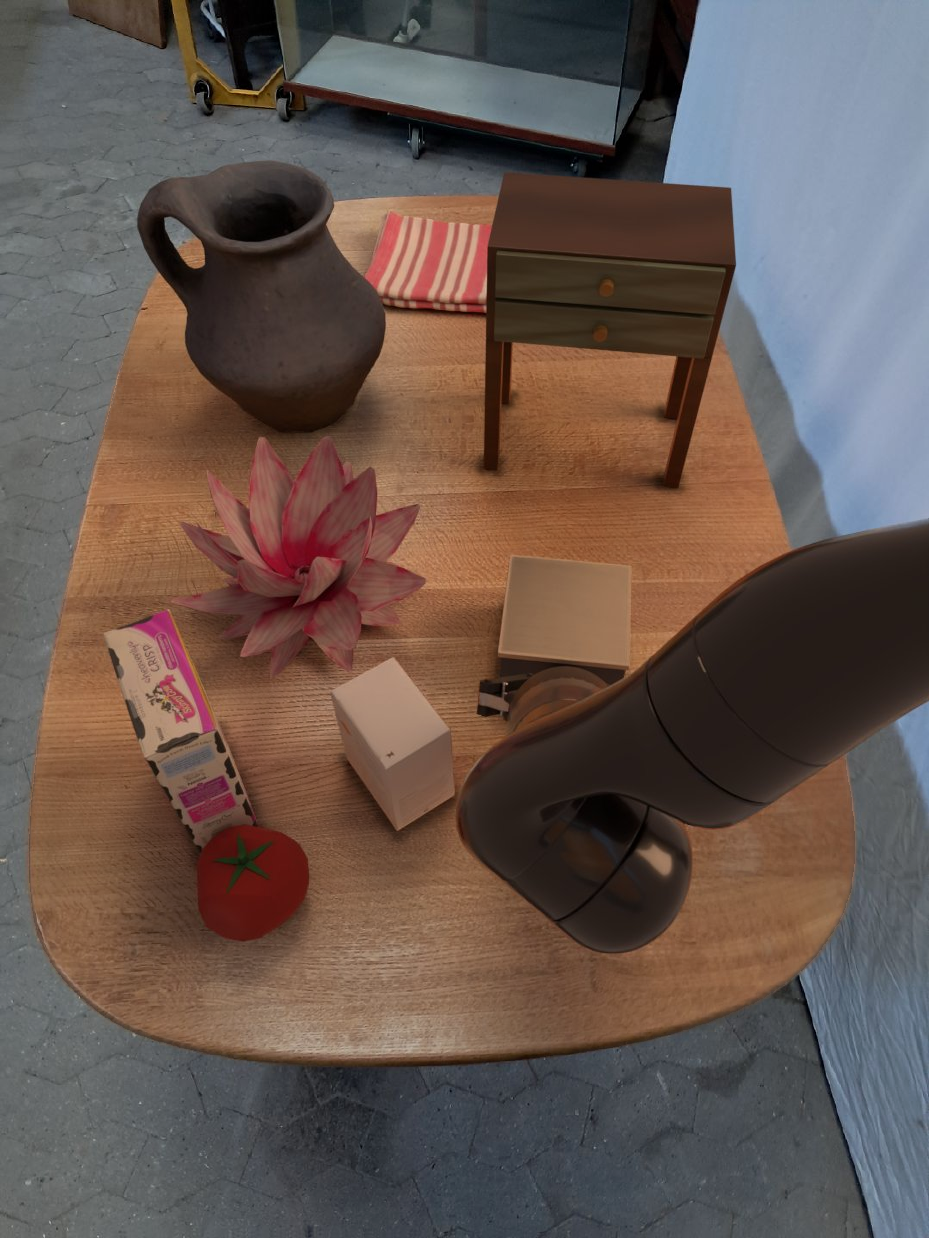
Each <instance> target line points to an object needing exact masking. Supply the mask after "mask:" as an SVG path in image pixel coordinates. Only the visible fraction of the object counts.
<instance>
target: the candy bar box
mask: <svg viewBox="0 0 929 1238" xmlns="http://www.w3.org/2000/svg"><path fill="white" fill-rule="evenodd" d="M103 638H104V641H105V645H106V647H107V650H108V653H109V658H110V661H111V664H112V666H113V670H114V672H115V676H116V679H117V682H118V685H119V687H120V691H121V693H122V698H123V700H124V703H125V707H126V710H127V713H128V715H129V718H130V721H131V724H132V727H133V730H134V733H135V736H136V739H137V743H138V745H139V746H140V750H141V753H142V756H143V759H144V760H145V761H146V762H147V764H148V765H149V767H150V769H151V770H152V773H153V775H154V776H155V778H156V780H157V781H158V784H159V785H160V787H161V788H162V790H163V792H164V793H165V795H166V797H167V799H168V800H169V803H170V804H171V806H172V808H173V809H174V811H175V812H176V814H177V816H178V818H179V820H180V822H181V823H182V824H183V827H184V828H185V830H186V831H187V834H188V835H189V837H190V839H191V840H192V843H193V844H194V846H195V847H196V849H197V851H198V852H199V855H200V854H201V852H202V849H203V848H204V847H205V845H206V844H207V843H208V842H209V841H210V840H211V838H212V837H213V836H215V835H216V834H218V833H220V832H221V831H223V830H225V829H226V828H228V827H233V826H238V825H243V824H247V825H251V826H256V827H260V826H259V823H258V820H257V818H256V815H255V812H254V809H253V806H252V802H251V801H250V798H249V795H248V792H247V790H246V787H245V784H244V782H243V779H242V777H241V774H240V771H239V769H238V767H237V764H236V761H235V759H234V757H233V754H232V751H231V749H230V746H229V743H228V741H227V739H226V736H225V735H224V734H225V733H224V731H223V730H222V729H223V728H222V726H221V724H220V722H219V720H218V717H217V715H216V713H215V710H214V707H213V706H212V704H211V701H210V699H209V696H208V694H207V691H206V689H205V687H204V684H203V683H202V680H201V677H200V675H199V673H198V671H197V668H196V666H195V664H194V662H193V660H192V657H191V655H190V653H189V651H188V648H187V646H186V644H185V641H184V639H183V638H182V635H181V633H180V631H179V628H178V626H177V623H176V621H175V619H174V617H173V615H172V612H171V610H170V609H166V610H162V611H159V612H156V613H154V614H151V615H148V616H147V617H144V618H141V619H139V620H137V621H133V622H131V623H129V624H126V625H121V626H119V627H116V628H113V629H111V630H109V631H105V632H103Z"/></svg>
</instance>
